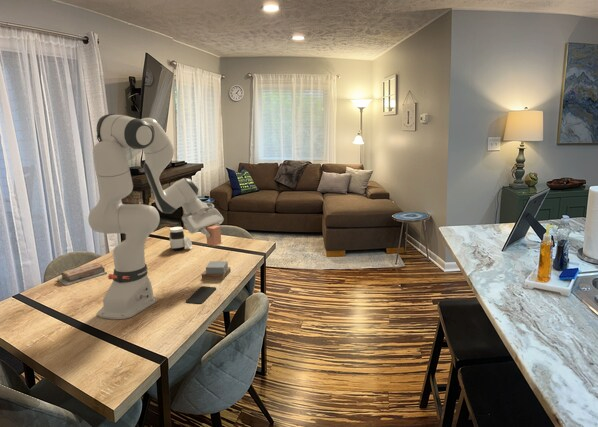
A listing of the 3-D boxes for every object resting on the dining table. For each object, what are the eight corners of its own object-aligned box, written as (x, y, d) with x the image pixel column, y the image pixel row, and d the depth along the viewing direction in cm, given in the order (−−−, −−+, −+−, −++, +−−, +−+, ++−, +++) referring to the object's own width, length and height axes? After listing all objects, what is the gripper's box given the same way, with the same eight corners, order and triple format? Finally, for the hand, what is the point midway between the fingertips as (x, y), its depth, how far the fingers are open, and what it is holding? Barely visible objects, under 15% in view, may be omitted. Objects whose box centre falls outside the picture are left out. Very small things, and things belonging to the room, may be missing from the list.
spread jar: (169, 247, 226) (167, 227, 224) (190, 244, 231) (188, 224, 228) (172, 253, 216) (170, 232, 213) (194, 250, 220) (192, 229, 217)
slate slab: (223, 273, 180) (223, 267, 179) (206, 273, 180) (205, 267, 180) (227, 267, 188) (227, 261, 187) (210, 267, 188) (210, 261, 187)
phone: (184, 301, 157) (201, 286, 172) (184, 303, 158) (201, 287, 172) (201, 303, 156) (217, 287, 170) (201, 305, 156) (217, 289, 170)
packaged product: (96, 260, 194) (106, 265, 187) (98, 269, 195) (107, 274, 189) (55, 271, 181) (64, 276, 174) (57, 281, 182) (65, 287, 175)
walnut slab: (223, 281, 179) (222, 275, 178) (201, 280, 181) (201, 274, 180) (230, 273, 189) (230, 267, 188) (210, 272, 190) (210, 266, 190)
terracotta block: (214, 246, 179) (213, 228, 177) (207, 244, 181) (205, 227, 179) (221, 243, 182) (220, 226, 181) (213, 242, 185) (212, 225, 183)
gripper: (183, 211, 172) (201, 236, 170) (215, 203, 190) (232, 225, 187) (176, 220, 176) (194, 245, 173) (208, 211, 193) (225, 233, 190)
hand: (214, 234), depth 180 cm, fingers closed on terracotta block, 4 cm apart
